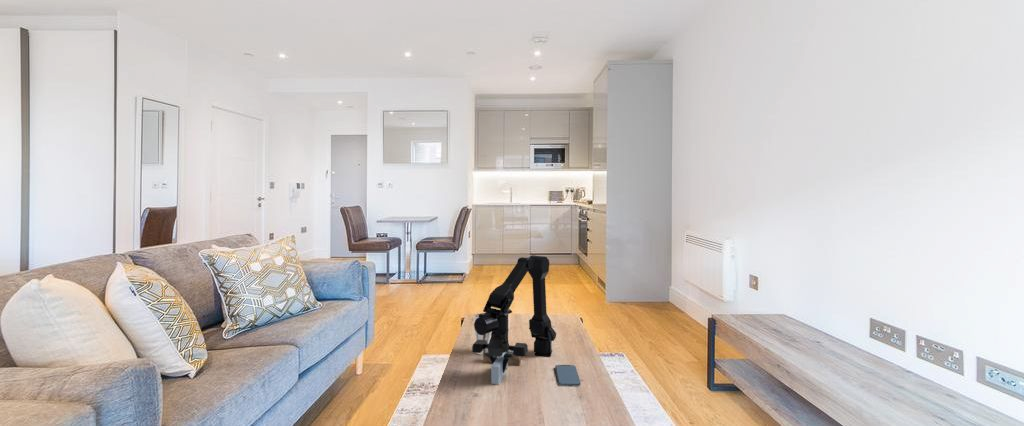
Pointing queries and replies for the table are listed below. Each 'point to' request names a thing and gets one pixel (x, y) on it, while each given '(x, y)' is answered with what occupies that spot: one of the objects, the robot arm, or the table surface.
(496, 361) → the pale blue upright post
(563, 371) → the smartphone
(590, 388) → the table surface
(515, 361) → the tan wooden plank
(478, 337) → the beer glass
